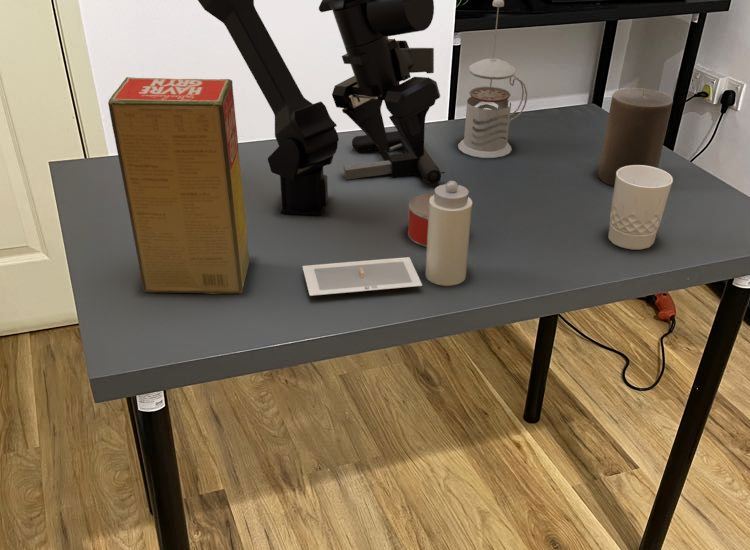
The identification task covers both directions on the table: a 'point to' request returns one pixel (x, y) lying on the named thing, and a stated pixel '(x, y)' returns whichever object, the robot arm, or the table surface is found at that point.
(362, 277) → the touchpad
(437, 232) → the pepper mill
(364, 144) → the door handle
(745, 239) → the table surface
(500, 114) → the french press
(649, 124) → the pillar candle
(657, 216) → the white cup
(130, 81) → the food packaging
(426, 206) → the sauce tin
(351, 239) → the table surface
